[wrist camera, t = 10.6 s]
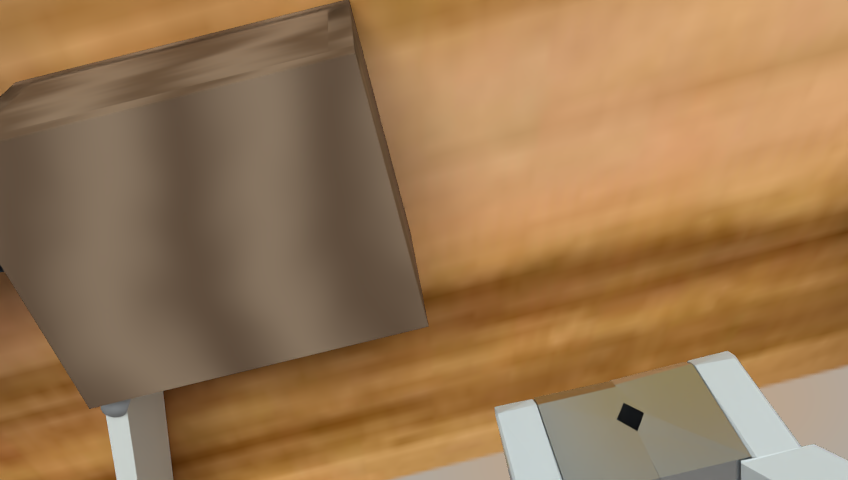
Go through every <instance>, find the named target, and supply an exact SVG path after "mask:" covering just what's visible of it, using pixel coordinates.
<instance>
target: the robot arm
mask: <svg viewBox="0 0 848 480" xmlns="http://www.w3.org/2000/svg"><path fill="white" fill-rule="evenodd" d="M495 415H496V420H497V424H498V428H499V432H500V437H501V441H502V445H503V450H504V454H505V458H506V462H507V466H508V471H509V475H510V479H511V480H848V460H846V459H844V458H842V457H840V456H838V455H836V454H834V453H832V452H830V451H828V450H826V449H824V448H822V447H820V446H818V445H816V444H812V445H807V446H801V445H800V444H799V442H798V441H797V440H796V438H795V437H794V436H793V434H792V433H791V431H790V430H789V429H788V427H787V426H786V425H785V423H784V422H783V420H782V419H781V418H780V416H779V415H778V414H777V412H776V411H775V410H774V408H773V407H772V406H771V404H770V403H769V401H768V400H767V399H766V397H765V396H764V395H763V393H762V392H761V391H760V389H759V388H758V386H757V385H756V384H755V382H754V381H753V380H752V378H751V377H750V376H749V374H748V373H747V371H746V370H745V369H744V367H743V366H742V365H741V363H740V362H739V361H738V359H737V358H736V356H735V355H733V354H732V353H730V352H728V351H725V352H721V353H717V354H713V355H709V356H705V357H701V358H697V359H693V360H689V361H688V362H687V363H686V362H682V363H678V364H674V365H670V366H666V367H662V368H658V369H654V370H650V371H646V372H642V373H638V374H634V375H630V376H626V377H622V378H618V379H614V380H610V381H609V382H604V383H600V384H595V385H590V386H586V387H581V388H576V389H572V390H567V391H563V392H558V393H553V394H549V395H544V396H539V397H535V398H534V400H533V399H530V400H525V401H521V402H516V403H511V404H506V405H502V406H497V407H495Z"/></svg>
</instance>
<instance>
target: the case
mask: <svg viewBox="0 0 848 480" xmlns="http://www.w3.org/2000/svg"><path fill="white" fill-rule="evenodd" d="M0 265H1V267H2V268H3V270H4V272H5V273H6V275H7V276H8V278H9V280H10V281H11V283H12V284H13V286H14V288H15V289H16V291H17V293H18V294H19V296H20V297H21V299H22V301H23V302H24V304H25V305H26V307H27V309H28V310H29V312H30V313H31V315H32V317H33V318H34V320H35V322H36V323H37V325H38V326H39V328H40V330H41V331H42V333H43V334H44V336H45V338H46V339H47V341H48V343H49V344H50V346H51V347H52V349H53V351H54V352H55V354H56V355H57V357H58V359H59V360H60V362H61V363H62V365H63V367H64V368H65V370H66V372H67V373H68V375H69V376H70V378H71V380H72V381H73V383H74V384H75V386H76V388H77V389H78V391H79V392H80V394H81V396H82V397H83V399H84V401H85V402H86V404H87V405H88V407H89V409H91V408H95V407H99V406H103V405H107V404H112V403H116V402H120V401H124V400H128V399H132V398H136V397H140V396H144V395H149V394H153V393H157V392H161V391H165V390H169V389H173V388H177V387H181V386H185V385H190V384H194V383H198V382H202V381H206V380H210V379H214V378H218V377H222V376H227V375H231V374H235V373H239V372H243V371H247V370H251V369H255V368H259V367H264V366H268V365H272V364H276V363H280V362H284V361H288V360H292V359H296V358H301V357H305V356H309V355H313V354H317V353H321V352H325V351H329V350H333V349H338V348H342V347H346V346H350V345H354V344H358V343H362V342H366V341H370V340H375V339H379V338H383V337H387V336H391V335H395V334H399V333H403V332H407V331H412V330H416V329H420V328H424V327H428V321H427V316H426V311H425V306H424V301H423V296H422V290H421V285H420V280H419V275H418V270H417V265H416V259H415V254H414V249H413V244H412V239H411V234H410V230H409V226H408V222H407V218H406V214H405V211H404V207H403V203H402V199H401V196H400V192H399V188H398V184H397V180H396V177H395V173H394V169H393V165H392V161H391V158H390V154H389V150H388V146H387V142H386V139H385V135H384V131H383V127H382V123H381V120H380V116H379V112H378V108H377V104H376V101H375V97H374V93H373V89H372V86H371V82H370V78H369V74H368V70H367V67H366V63H365V59H364V55H363V51H362V48H361V44H360V40H359V36H358V32H357V29H356V25H355V21H354V17H353V13H352V10H351V6H350V2H349V0H343V1H339V2H335V3H331V4H327V5H323V6H319V7H315V8H311V9H307V10H303V11H299V12H295V13H291V14H287V15H283V16H279V17H275V18H271V19H267V20H263V21H259V22H255V23H251V24H247V25H243V26H239V27H235V28H231V29H227V30H223V31H219V32H215V33H211V34H207V35H203V36H199V37H195V38H191V39H187V40H183V41H179V42H175V43H171V44H167V45H163V46H159V47H155V48H151V49H147V50H143V51H139V52H135V53H131V54H127V55H123V56H119V57H115V58H111V59H107V60H103V61H99V62H95V63H91V64H87V65H83V66H79V67H75V68H71V69H67V70H63V71H59V72H55V73H51V74H47V75H43V76H39V77H35V78H31V79H27V80H23V81H19V82H15V83H14V84H13V85H12V86H11V87H10V88H9V89H8V90H7V91H6V92H5V93H4V94H2V95H1V96H0Z"/></svg>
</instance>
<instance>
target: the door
mask: <svg viewBox="0 0 848 480" xmlns="http://www.w3.org/2000/svg"><path fill="white" fill-rule="evenodd" d="M101 410H102V412H103V413H104V414H105V415H106V419H107V425H108V431H109V437H110V442H111V448H112V454H113V460H114V466H115V472H116V478H117V480H173V472H172V464H171V455H170V446H169V438H168V429H167V420H166V412H165V403H164V395H163V391H161V392H157V393H153V394H149V395H144V396H140V397H136V398H132V399H128V400H124V401H120V402H116V403H112V404H107V405H103V406H101Z"/></svg>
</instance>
